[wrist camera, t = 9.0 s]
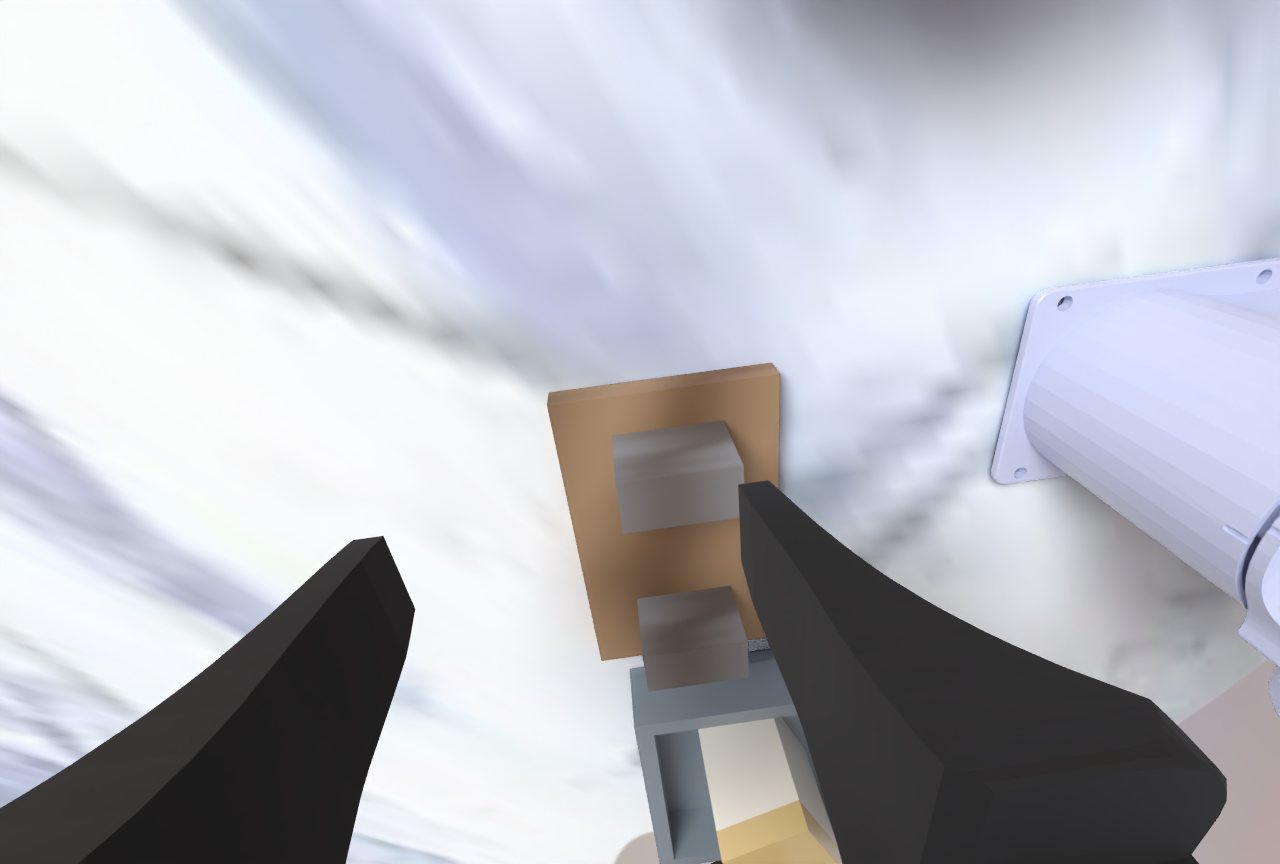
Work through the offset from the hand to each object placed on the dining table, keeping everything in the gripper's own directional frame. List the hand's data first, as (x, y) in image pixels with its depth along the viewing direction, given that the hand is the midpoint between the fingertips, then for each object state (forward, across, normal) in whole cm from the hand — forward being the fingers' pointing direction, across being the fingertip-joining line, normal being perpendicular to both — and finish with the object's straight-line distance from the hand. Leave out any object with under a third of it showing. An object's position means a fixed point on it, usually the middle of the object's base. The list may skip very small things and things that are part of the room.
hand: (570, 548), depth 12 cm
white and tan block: (+9, -6, +22) cm, 24 cm away
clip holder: (+9, -3, +7) cm, 12 cm away
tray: (+9, -6, +22) cm, 25 cm away
